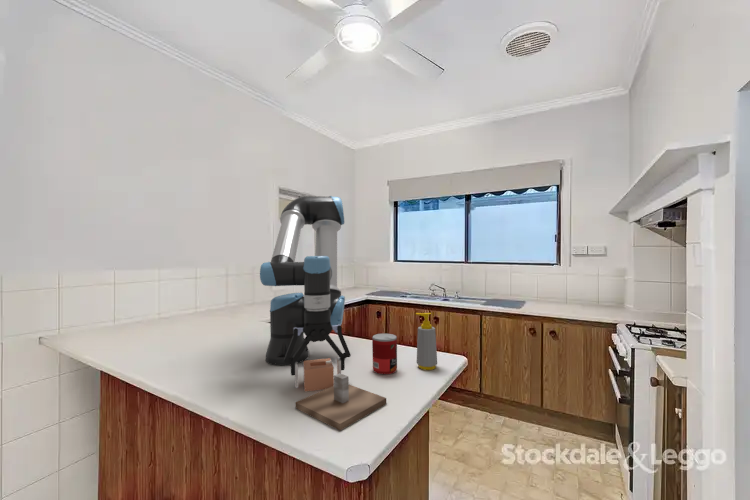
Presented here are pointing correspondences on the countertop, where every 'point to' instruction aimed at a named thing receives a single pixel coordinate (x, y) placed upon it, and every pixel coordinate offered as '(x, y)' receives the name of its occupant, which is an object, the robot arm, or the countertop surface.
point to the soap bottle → (426, 345)
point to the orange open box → (318, 374)
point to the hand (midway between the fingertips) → (318, 383)
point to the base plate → (340, 403)
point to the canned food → (384, 353)
